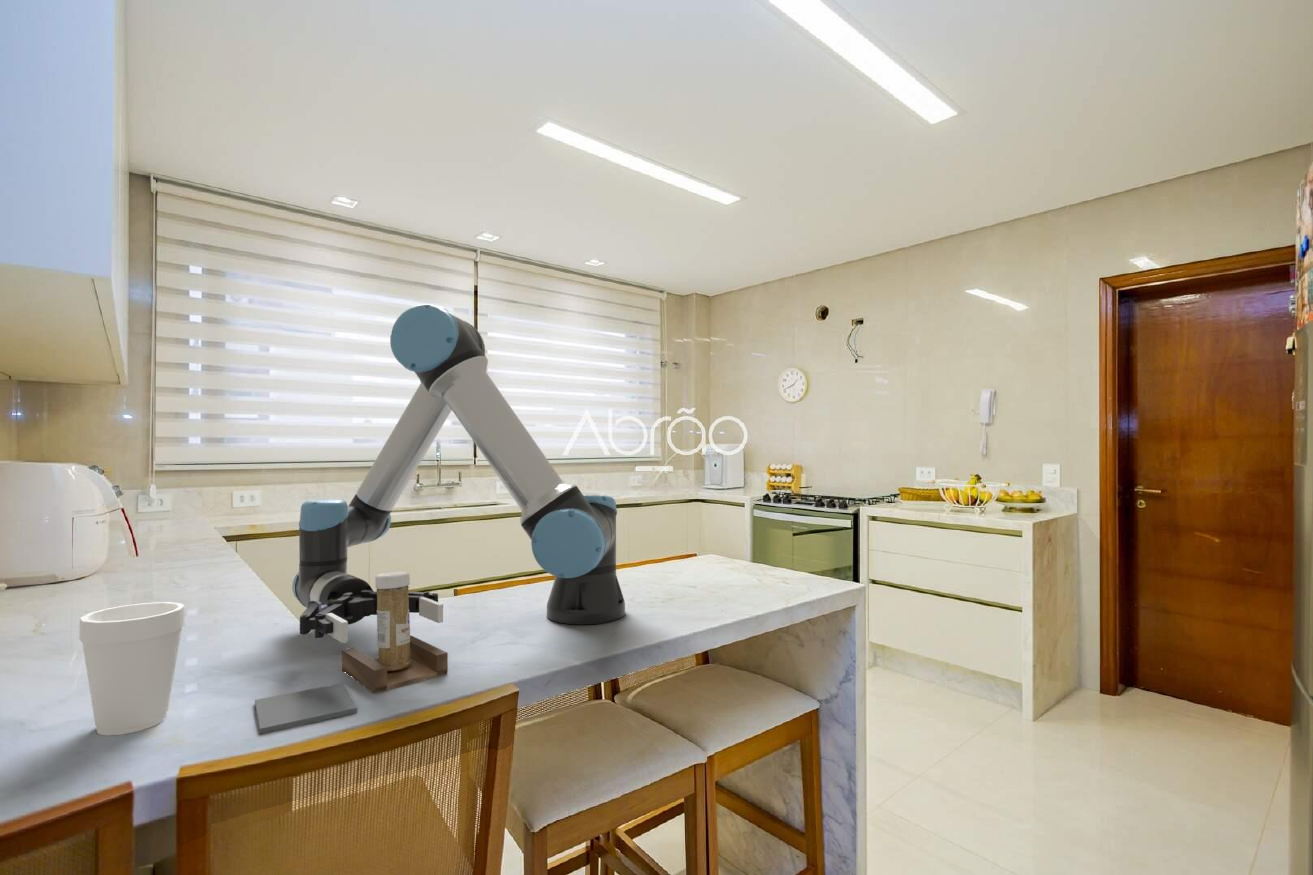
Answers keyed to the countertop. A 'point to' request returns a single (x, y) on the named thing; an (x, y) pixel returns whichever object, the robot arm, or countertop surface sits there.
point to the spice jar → (393, 620)
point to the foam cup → (131, 663)
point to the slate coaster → (303, 707)
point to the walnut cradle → (378, 679)
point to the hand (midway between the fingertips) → (395, 622)
